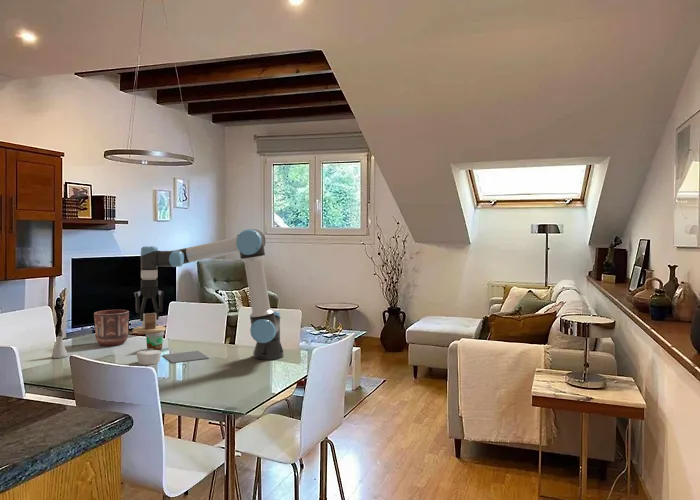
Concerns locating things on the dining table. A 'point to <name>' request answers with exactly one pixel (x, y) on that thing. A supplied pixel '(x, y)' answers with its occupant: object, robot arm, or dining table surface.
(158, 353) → the ramekin
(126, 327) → the pottery
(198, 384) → the dining table surface
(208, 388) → the dining table surface
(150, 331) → the oak lid
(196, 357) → the rubber mat
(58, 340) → the flask
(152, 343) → the food container
